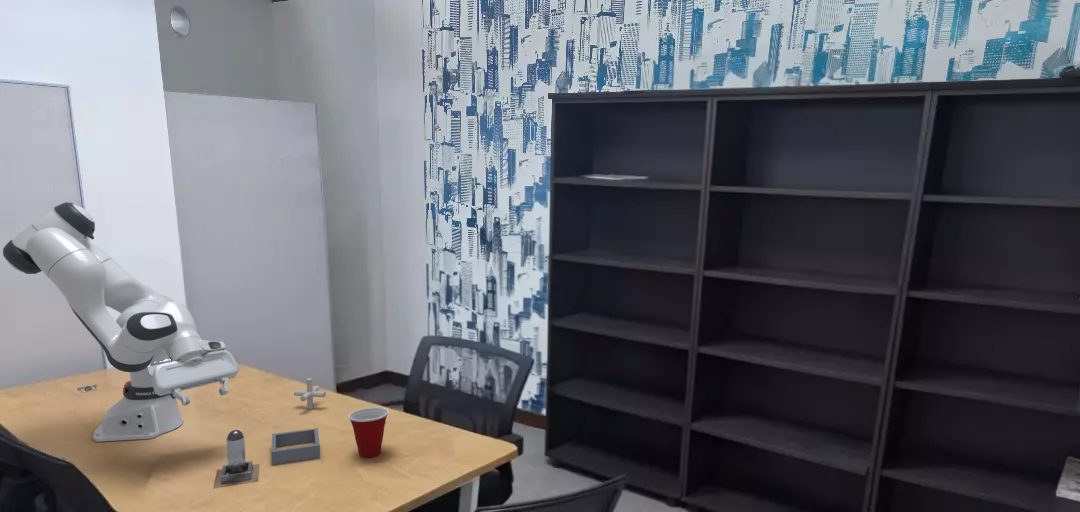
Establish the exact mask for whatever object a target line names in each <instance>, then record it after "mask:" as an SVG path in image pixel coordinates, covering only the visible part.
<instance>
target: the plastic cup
mask: <svg viewBox="0 0 1080 512" xmlns="http://www.w3.org/2000/svg"><path fill="white" fill-rule="evenodd" d="M388 415H389V410H388V408H384V407H366V408H365V407H364V408H361V409H360V408H359V409H357V410H354V411H352V412H351V413H349V414H348V416H347V417H348V420H350V422H351V426H352V430H353V434H354V439H355V443H356V446H357V452H358V455H359V456H360V457H361V458H364V459H371V458H375V457H377V456H379V455H380V454H381V451H382V444H383V440H384V432H385V427H386V420H387V417H388Z"/></svg>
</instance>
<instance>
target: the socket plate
mask: <svg viewBox="0 0 1080 512" xmlns="http://www.w3.org/2000/svg"><path fill="white" fill-rule="evenodd" d="M245 463H246V472H243V473H236V474H229V475H228V463H227V464H223V465H222V469H221V468H220V469H217V470H216V474H215V477H214V478H215V479H214V481H213V482H214V483H213V487H212V488H213V489H219V488H225V487H231V486H238V485H245V484H251V483H252V484H253V483H257V482H259V476H260V465H261V464H260V463H253V460H249V461H245Z"/></svg>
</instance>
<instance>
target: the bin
mask: <svg viewBox="0 0 1080 512" xmlns="http://www.w3.org/2000/svg"><path fill="white" fill-rule="evenodd" d="M309 443H314V444H309ZM301 444H302V446H296V445H301ZM304 444H306V445H304ZM307 444H308V445H307ZM287 446H289V447H287ZM290 446H292V447H290ZM293 446H295V447H293ZM282 447H287V448H282ZM277 448H279V449H277ZM270 449H271V452H270V453H271V454H270V455H271V466H275V465H282V464H289V463H290V464H291V463H296V462H303V461H309V460H310V461H311V460H315V459H316V460H317V459H318V460H319V459H321V444H320V437H319V429H318V427H317V428H316V427H315V428H308V429H307V428H306V429H301V430H293V431H292V430H291V431H286V432H285V431H283V432H277V433H272V435H271V447H270Z"/></svg>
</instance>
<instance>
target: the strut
mask: <svg viewBox="0 0 1080 512" xmlns="http://www.w3.org/2000/svg"><path fill="white" fill-rule="evenodd" d="M245 443H246V442H245V435H244V434H243V432H242V431H241V430H240V429H233V430H231V431H230V432H228V435H227V438H226V451H227V452H226V453H227V454H226V455H227V456H226V457H227V458H226V459H227V464H228V475H229V474H236V473H243V472H246V463H245V462H246V447H245V446H246V444H245Z"/></svg>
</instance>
